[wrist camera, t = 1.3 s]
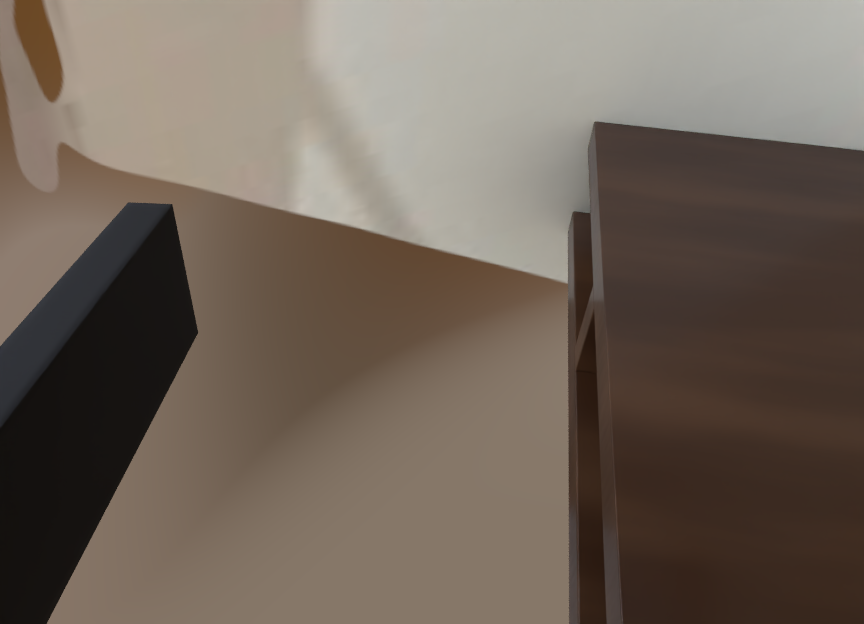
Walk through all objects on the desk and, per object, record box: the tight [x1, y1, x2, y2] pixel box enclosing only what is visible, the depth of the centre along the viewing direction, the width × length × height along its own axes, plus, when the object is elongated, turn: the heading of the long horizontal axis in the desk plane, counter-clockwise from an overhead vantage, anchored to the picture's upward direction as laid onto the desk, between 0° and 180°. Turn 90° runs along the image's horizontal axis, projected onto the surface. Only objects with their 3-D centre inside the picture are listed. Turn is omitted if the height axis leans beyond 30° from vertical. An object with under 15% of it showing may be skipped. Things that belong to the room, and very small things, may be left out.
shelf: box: [568, 122, 864, 624], centre depth 29 cm, size 8×18×33 cm, turn 87°
